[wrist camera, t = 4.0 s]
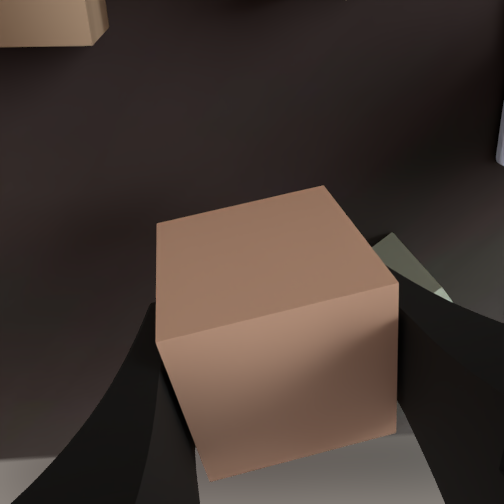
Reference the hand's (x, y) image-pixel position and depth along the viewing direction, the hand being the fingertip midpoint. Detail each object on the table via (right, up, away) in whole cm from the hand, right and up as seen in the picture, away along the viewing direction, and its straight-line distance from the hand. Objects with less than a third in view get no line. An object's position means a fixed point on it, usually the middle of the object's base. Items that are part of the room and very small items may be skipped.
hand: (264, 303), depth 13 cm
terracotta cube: (0, +1, +1) cm, 2 cm away
